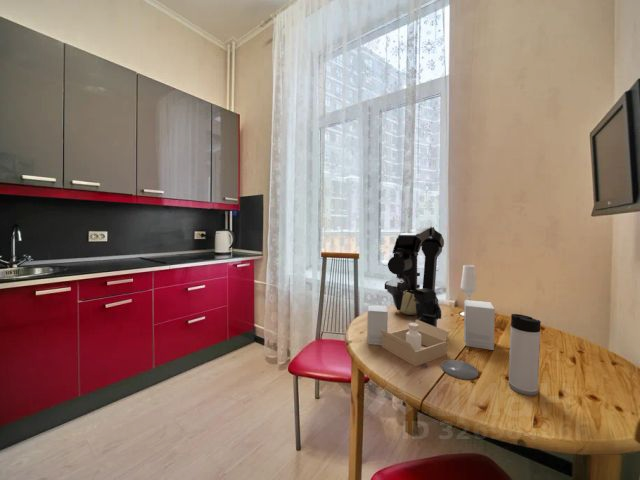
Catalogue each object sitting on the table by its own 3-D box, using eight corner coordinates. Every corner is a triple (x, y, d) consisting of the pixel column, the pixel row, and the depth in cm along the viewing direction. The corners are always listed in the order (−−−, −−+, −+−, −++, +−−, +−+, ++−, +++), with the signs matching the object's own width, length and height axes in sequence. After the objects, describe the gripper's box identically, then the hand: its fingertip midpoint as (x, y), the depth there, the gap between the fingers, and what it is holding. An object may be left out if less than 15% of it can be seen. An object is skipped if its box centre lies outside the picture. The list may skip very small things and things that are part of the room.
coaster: (454, 358, 88) (454, 356, 88) (485, 373, 79) (485, 371, 79) (434, 366, 83) (434, 364, 83) (464, 383, 74) (464, 381, 74)
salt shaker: (413, 354, 91) (413, 327, 90) (404, 349, 94) (405, 323, 94) (421, 352, 93) (422, 325, 92) (412, 347, 96) (413, 321, 96)
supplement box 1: (387, 346, 97) (387, 311, 97) (367, 344, 99) (367, 310, 98) (386, 337, 105) (387, 305, 104) (367, 336, 106) (367, 304, 105)
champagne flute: (462, 311, 135) (464, 264, 134) (477, 314, 130) (479, 265, 129) (457, 314, 131) (458, 265, 129) (472, 318, 126) (474, 267, 124)
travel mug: (501, 382, 75) (504, 312, 73) (523, 381, 75) (526, 311, 74) (520, 397, 68) (523, 320, 67) (544, 395, 69) (547, 319, 68)
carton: (415, 337, 104) (415, 318, 104) (449, 353, 91) (450, 332, 91) (378, 348, 96) (378, 328, 95) (410, 367, 82) (411, 344, 82)
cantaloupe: (388, 309, 139) (389, 281, 138) (415, 308, 140) (416, 280, 139) (400, 319, 124) (400, 287, 123) (430, 318, 126) (431, 286, 125)
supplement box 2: (490, 340, 101) (491, 301, 100) (494, 351, 93) (495, 308, 92) (463, 336, 105) (464, 299, 104) (464, 346, 97) (465, 305, 96)
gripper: (372, 267, 97) (372, 310, 98) (411, 277, 80) (411, 327, 82) (396, 265, 102) (396, 305, 103) (437, 273, 85) (436, 321, 87)
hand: (408, 313), depth 93 cm, fingers open, 9 cm apart
